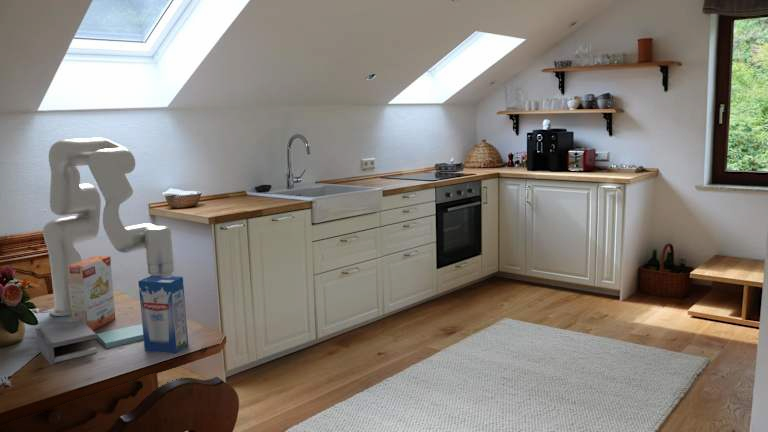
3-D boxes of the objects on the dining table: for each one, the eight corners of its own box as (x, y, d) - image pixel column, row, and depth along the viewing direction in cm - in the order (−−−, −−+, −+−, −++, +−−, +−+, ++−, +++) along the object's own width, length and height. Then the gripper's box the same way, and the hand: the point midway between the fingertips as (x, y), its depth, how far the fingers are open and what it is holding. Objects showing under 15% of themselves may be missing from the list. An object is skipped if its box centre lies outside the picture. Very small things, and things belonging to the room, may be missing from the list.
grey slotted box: (38, 348, 186) (35, 329, 185) (83, 338, 193) (81, 319, 193) (50, 364, 174) (47, 344, 173) (97, 353, 181) (95, 333, 180)
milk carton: (188, 345, 185) (183, 276, 182) (176, 353, 179) (170, 282, 176) (157, 343, 188) (151, 275, 184) (144, 351, 182) (138, 281, 179)
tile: (96, 340, 193) (96, 334, 193) (151, 328, 203) (150, 321, 202) (106, 349, 185) (105, 343, 185) (162, 336, 195) (162, 330, 195)
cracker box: (89, 333, 198) (82, 266, 194) (72, 332, 199) (64, 265, 195) (117, 318, 211) (111, 255, 208) (100, 318, 212) (94, 255, 209)
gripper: (139, 265, 201) (145, 322, 204) (156, 274, 189) (162, 334, 192) (164, 261, 205) (168, 317, 208) (182, 269, 194) (186, 329, 197)
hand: (165, 325), depth 200 cm, fingers closed
